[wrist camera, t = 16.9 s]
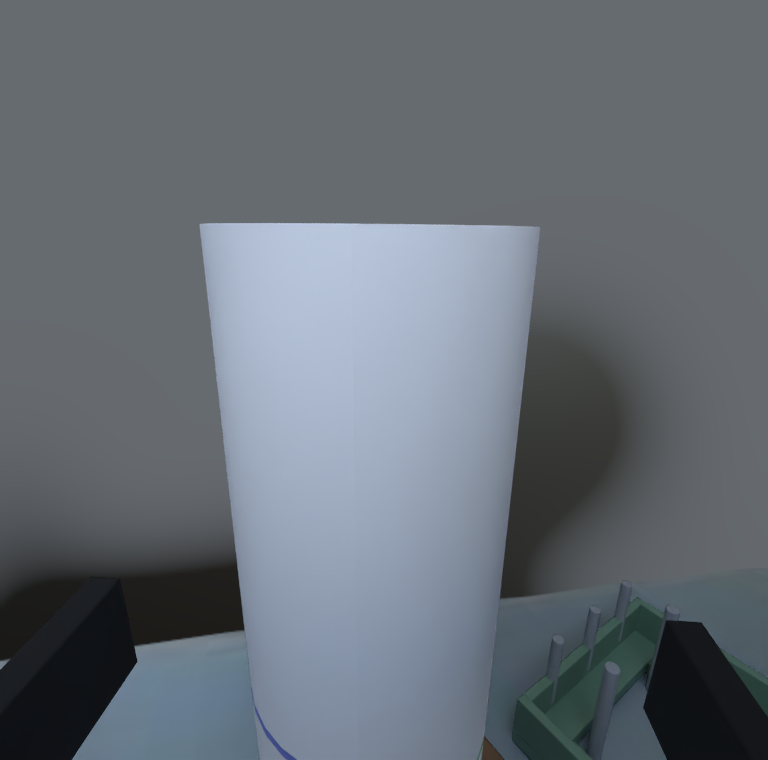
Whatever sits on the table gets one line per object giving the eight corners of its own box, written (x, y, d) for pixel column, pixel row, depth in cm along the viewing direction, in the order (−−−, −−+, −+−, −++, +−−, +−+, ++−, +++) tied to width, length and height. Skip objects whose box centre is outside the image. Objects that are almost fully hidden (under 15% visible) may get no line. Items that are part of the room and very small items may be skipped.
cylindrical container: (302, 784, 21) (263, 226, 14) (454, 795, 21) (503, 228, 13) (252, 1039, 15) (117, 221, 7) (474, 1062, 14) (598, 225, 7)
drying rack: (881, 807, 25) (930, 715, 23) (803, 1060, 17) (865, 959, 15) (628, 631, 36) (644, 558, 34) (510, 739, 28) (522, 653, 26)
